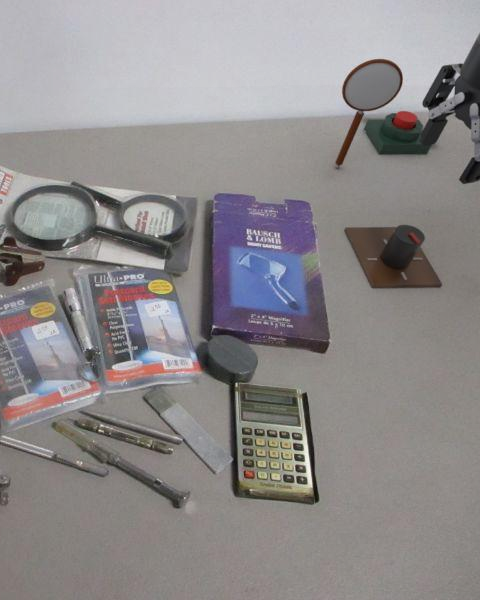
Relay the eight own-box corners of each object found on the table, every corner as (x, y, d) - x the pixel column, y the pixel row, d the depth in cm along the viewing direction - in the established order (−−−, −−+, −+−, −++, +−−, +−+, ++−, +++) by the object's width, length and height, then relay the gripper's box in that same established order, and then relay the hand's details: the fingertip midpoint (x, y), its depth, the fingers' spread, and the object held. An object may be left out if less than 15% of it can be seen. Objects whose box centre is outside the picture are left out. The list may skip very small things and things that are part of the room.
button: (408, 119, 109) (412, 110, 108) (416, 130, 107) (421, 121, 105) (389, 119, 109) (393, 110, 108) (397, 130, 107) (401, 121, 105)
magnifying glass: (312, 168, 105) (354, 59, 90) (311, 162, 106) (353, 54, 91) (362, 173, 104) (414, 65, 89) (361, 167, 105) (411, 59, 90)
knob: (375, 251, 88) (390, 225, 84) (399, 247, 88) (415, 221, 84) (390, 271, 85) (406, 244, 81) (414, 266, 86) (432, 240, 82)
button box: (409, 129, 113) (418, 110, 110) (426, 154, 108) (437, 135, 105) (363, 129, 113) (371, 110, 110) (378, 154, 108) (387, 135, 105)
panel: (401, 238, 93) (409, 225, 91) (434, 296, 86) (443, 283, 83) (339, 239, 93) (345, 226, 91) (366, 297, 85) (373, 284, 83)
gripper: (591, 70, 63) (506, 191, 75) (500, 12, 72) (437, 128, 84) (531, 78, 62) (454, 200, 74) (446, 18, 71) (390, 135, 83)
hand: (445, 162), depth 79 cm, fingers open, 8 cm apart
